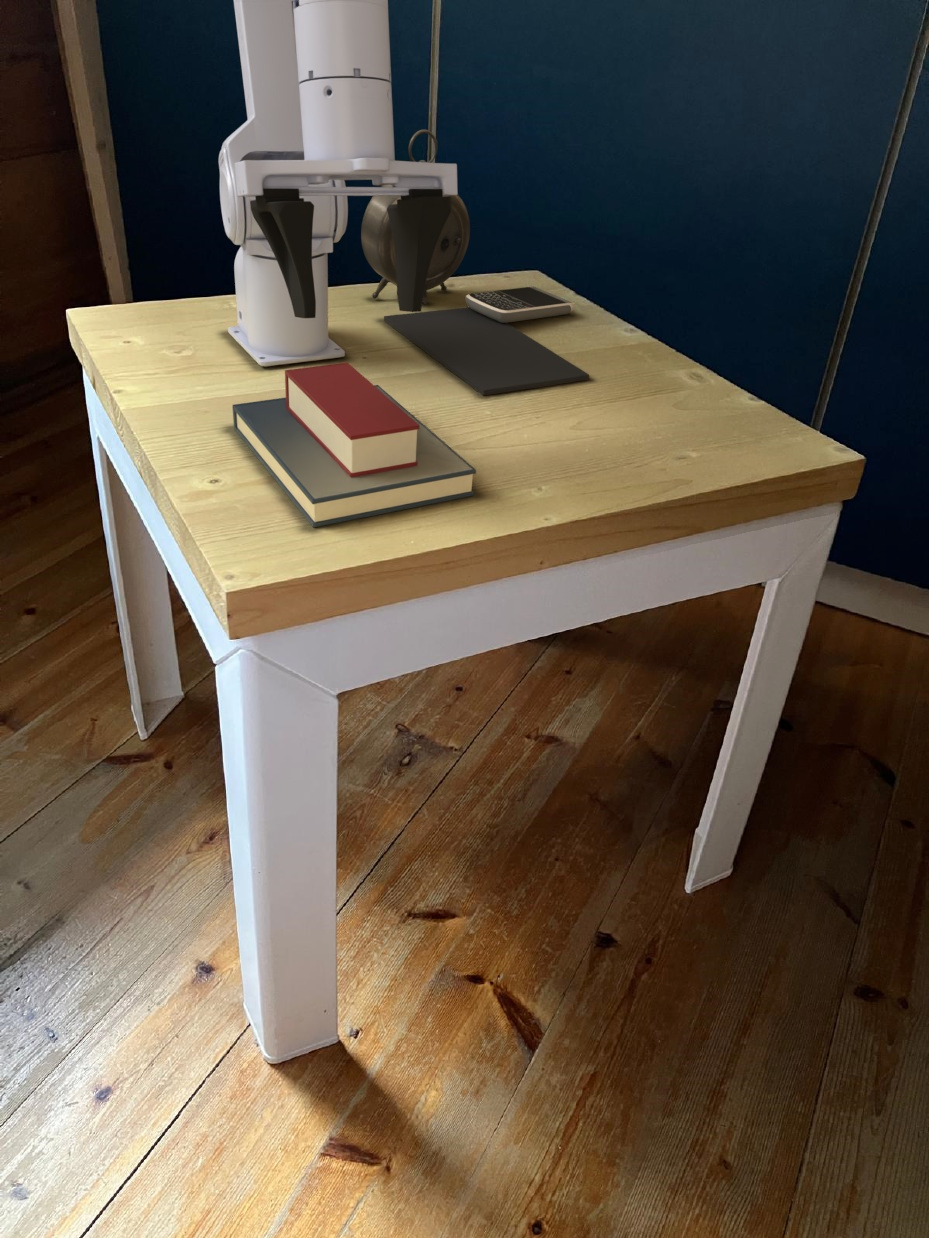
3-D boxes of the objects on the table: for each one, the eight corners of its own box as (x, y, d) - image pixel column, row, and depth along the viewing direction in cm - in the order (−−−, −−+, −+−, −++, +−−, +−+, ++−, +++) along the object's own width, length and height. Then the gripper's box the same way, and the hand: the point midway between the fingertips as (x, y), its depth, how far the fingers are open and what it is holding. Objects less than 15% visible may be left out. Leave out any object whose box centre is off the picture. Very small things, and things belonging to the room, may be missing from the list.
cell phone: (459, 308, 100) (461, 294, 100) (537, 298, 107) (539, 285, 106) (499, 326, 97) (501, 312, 96) (577, 315, 103) (579, 302, 102)
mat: (383, 321, 97) (383, 316, 97) (479, 310, 102) (479, 306, 102) (483, 395, 83) (483, 390, 83) (588, 380, 88) (589, 374, 88)
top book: (286, 408, 74) (284, 370, 72) (347, 399, 76) (347, 362, 74) (350, 477, 65) (350, 436, 63) (417, 465, 67) (419, 425, 66)
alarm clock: (446, 285, 108) (455, 123, 99) (472, 300, 105) (485, 133, 95) (358, 296, 103) (359, 126, 94) (382, 311, 100) (387, 136, 90)
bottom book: (233, 429, 75) (232, 404, 73) (377, 408, 80) (377, 384, 79) (313, 527, 63) (312, 500, 62) (473, 495, 69) (476, 469, 67)
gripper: (252, 68, 54) (275, 324, 59) (478, 81, 61) (482, 311, 66) (216, 86, 60) (239, 318, 65) (426, 97, 66) (433, 306, 71)
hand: (359, 314), depth 66 cm, fingers open, 7 cm apart
